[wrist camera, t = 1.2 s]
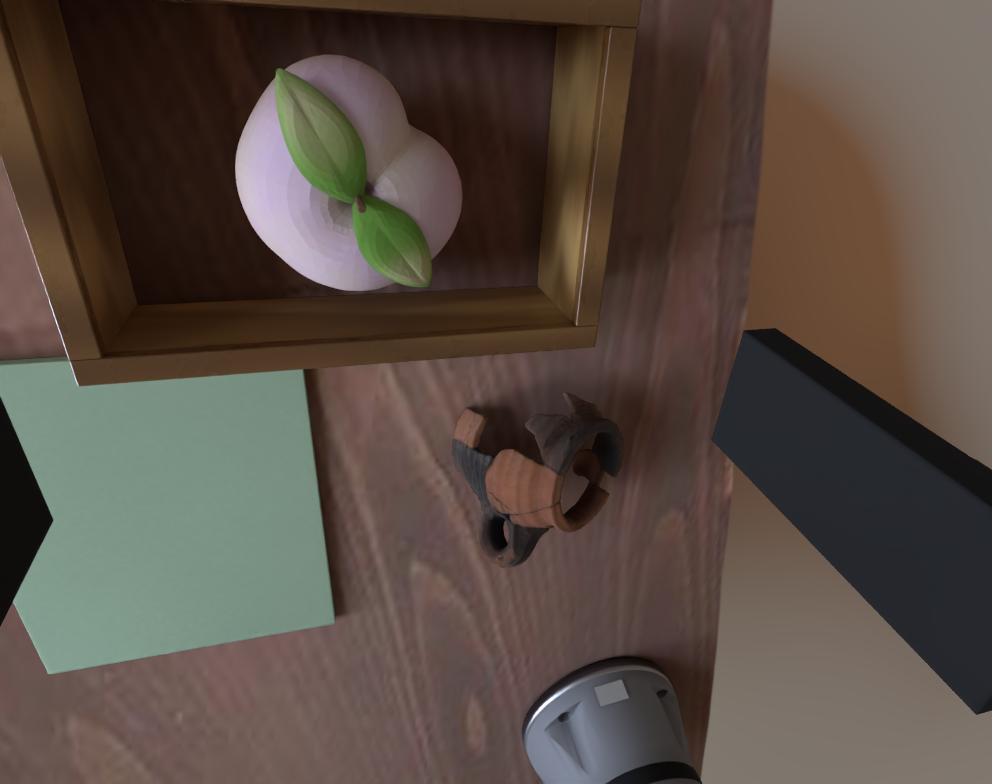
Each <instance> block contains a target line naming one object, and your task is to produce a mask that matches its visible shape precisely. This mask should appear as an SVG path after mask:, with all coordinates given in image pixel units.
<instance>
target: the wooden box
mask: <svg viewBox="0 0 992 784" xmlns="http://www.w3.org/2000/svg"><path fill="white" fill-rule="evenodd" d="M155 1H170V2H186V3H202V4H218V5H233V6H249V7H265V8H280V9H296V10H312V11H328V12H343V13H359V14H375V15H390V16H406V17H422V18H438V19H453V20H469V21H485V22H501V23H516V24H532V25H548V26H558V27H557V37H556V50H555V62H554V75H553V88H552V101H551V114H550V126H549V139H548V152H547V165H546V177H545V190H544V203H543V216H542V229H541V241H540V254H539V267H538V280H537V286H529V287H508V288H487V289H467V290H446V291H426V292H405V293H384V294H364V295H343V296H323V297H302V298H281V299H261V300H240V301H220V302H199V303H178V304H158V305H137V301H136V297H135V293H134V289H133V286H132V282H131V278H130V274H129V270H128V266H127V263H126V259H125V255H124V251H123V247H122V243H121V240H120V236H119V232H118V228H117V224H116V220H115V217H114V213H113V209H112V205H111V201H110V198H109V194H108V190H107V186H106V182H105V178H104V175H103V171H102V167H101V163H100V159H99V155H98V152H97V148H96V144H95V140H94V136H93V132H92V129H91V125H90V121H89V117H88V113H87V109H86V106H85V102H84V98H83V94H82V90H81V86H80V83H79V79H78V75H77V71H76V67H75V63H74V60H73V56H72V52H71V48H70V44H69V41H68V37H67V33H66V29H65V25H64V21H63V18H62V14H61V10H60V6H59V2H58V0H0V157H1V160H2V163H3V166H4V169H5V172H6V174H7V177H8V180H9V183H10V186H11V189H12V192H13V195H14V198H15V201H16V204H17V207H18V210H19V213H20V216H21V219H22V222H23V225H24V228H25V231H26V234H27V237H28V240H29V243H30V246H31V249H32V252H33V255H34V258H35V261H36V264H37V267H38V270H39V273H40V276H41V279H42V282H43V285H44V288H45V291H46V294H47V297H48V300H49V303H50V306H51V309H52V312H53V315H54V318H55V321H56V323H57V326H58V329H59V332H60V335H61V338H62V341H63V344H64V347H65V350H66V353H67V356H68V359H69V360H70V365H71V368H72V371H73V373H74V376H75V379H76V382H77V385H78V386H91V385H104V384H118V383H131V382H144V381H157V380H170V379H183V378H196V377H209V376H222V375H235V374H248V373H261V372H274V371H287V370H300V369H314V368H327V367H340V366H353V365H366V364H379V363H392V362H405V361H418V360H431V359H444V358H457V357H470V356H483V355H496V354H509V353H523V352H536V351H549V350H562V349H575V348H588V347H595V344H596V337H597V329H598V326H597V325H598V322H599V314H600V307H601V299H602V292H603V284H604V277H605V269H606V262H607V254H608V247H609V239H610V232H611V224H612V217H613V209H614V202H615V195H616V187H617V180H618V172H619V165H620V157H621V150H622V142H623V135H624V127H625V120H626V112H627V105H628V97H629V90H630V82H631V75H632V68H633V60H634V53H635V45H636V38H637V27H638V25H639V17H640V10H641V2H642V0H155Z"/></svg>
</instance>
